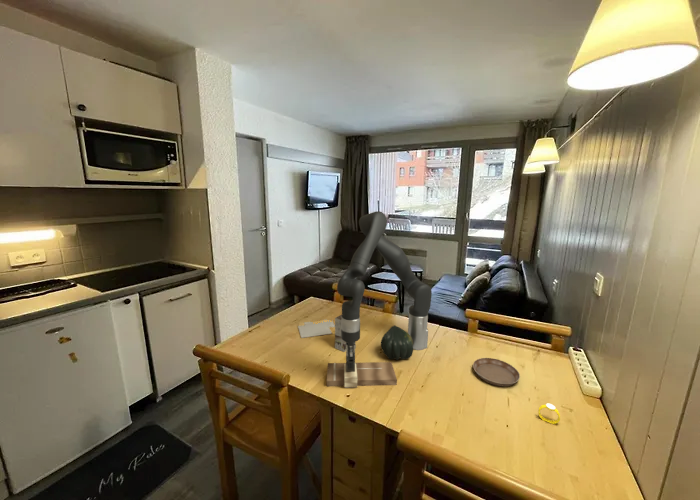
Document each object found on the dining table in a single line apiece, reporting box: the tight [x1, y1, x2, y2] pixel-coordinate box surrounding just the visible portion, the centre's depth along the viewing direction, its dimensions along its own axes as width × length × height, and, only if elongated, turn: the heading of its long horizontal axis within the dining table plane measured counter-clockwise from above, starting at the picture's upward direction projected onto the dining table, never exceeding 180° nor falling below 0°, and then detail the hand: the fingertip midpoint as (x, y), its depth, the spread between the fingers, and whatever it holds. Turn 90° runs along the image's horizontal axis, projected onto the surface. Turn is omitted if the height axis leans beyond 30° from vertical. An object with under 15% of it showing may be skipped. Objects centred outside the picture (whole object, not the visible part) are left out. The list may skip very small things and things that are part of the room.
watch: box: [537, 403, 561, 425], centre depth 98 cm, size 6×3×6 cm, turn 56°
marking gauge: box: [343, 351, 358, 388], centre depth 117 cm, size 5×10×11 cm, turn 2°
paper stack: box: [297, 320, 335, 339], centre depth 167 cm, size 23×25×1 cm
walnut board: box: [326, 361, 398, 387], centre depth 121 cm, size 28×12×3 cm, turn 92°
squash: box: [380, 325, 414, 361], centre depth 136 cm, size 14×15×15 cm
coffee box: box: [334, 314, 346, 353], centre depth 143 cm, size 9×6×16 cm
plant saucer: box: [472, 357, 521, 387], centre depth 122 cm, size 18×18×3 cm
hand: (350, 366), depth 118 cm, fingers closed on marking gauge, 3 cm apart
